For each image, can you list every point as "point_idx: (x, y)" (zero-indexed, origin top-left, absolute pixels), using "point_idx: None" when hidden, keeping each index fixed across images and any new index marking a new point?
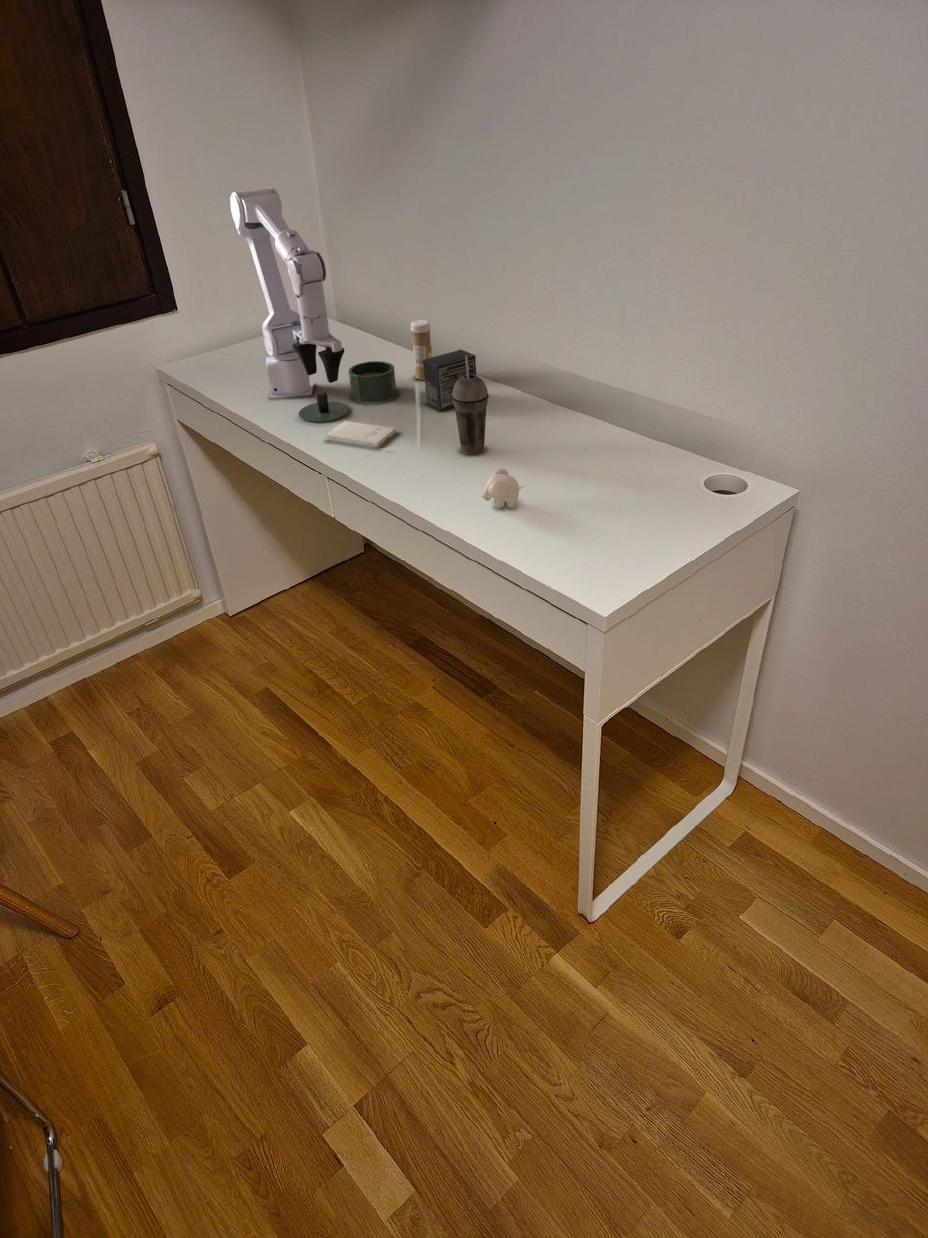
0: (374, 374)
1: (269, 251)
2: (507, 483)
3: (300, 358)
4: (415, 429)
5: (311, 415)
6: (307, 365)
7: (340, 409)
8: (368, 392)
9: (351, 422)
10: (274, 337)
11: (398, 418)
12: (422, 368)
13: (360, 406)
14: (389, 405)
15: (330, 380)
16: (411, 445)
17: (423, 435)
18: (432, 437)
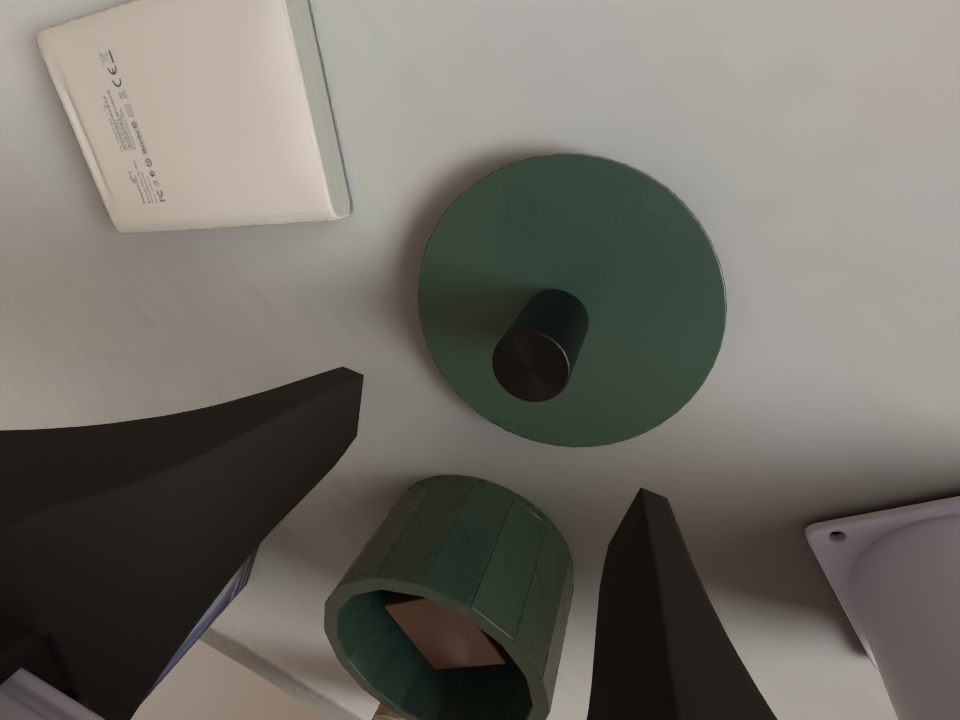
0: (442, 644)
1: None
2: None
3: (736, 658)
4: (139, 299)
5: (587, 228)
6: (639, 569)
7: (478, 361)
8: (412, 513)
9: (288, 203)
10: None
11: (253, 373)
12: (387, 711)
13: (461, 450)
14: (364, 477)
15: (323, 373)
16: (37, 154)
17: (84, 259)
18: (55, 255)
